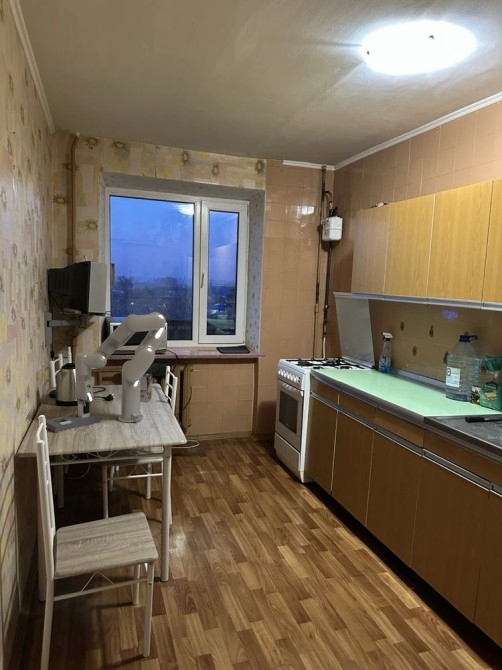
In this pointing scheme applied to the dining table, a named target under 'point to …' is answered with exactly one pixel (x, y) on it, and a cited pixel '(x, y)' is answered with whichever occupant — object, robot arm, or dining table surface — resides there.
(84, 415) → the white plug block
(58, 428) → the charcoal socket panel
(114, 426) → the dining table surface
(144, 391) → the coffee box
